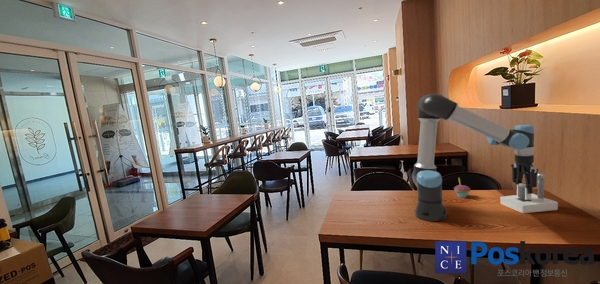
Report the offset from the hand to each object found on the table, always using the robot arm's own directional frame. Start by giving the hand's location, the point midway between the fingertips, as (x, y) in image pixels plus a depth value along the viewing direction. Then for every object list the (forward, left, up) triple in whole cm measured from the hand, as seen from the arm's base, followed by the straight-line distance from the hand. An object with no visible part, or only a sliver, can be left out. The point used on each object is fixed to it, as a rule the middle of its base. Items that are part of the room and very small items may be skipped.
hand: (523, 197), depth 135 cm
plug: (0, 0, -5) cm, 5 cm away
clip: (+8, +6, +8) cm, 12 cm away
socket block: (+2, 0, -5) cm, 6 cm away
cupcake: (-18, +23, -5) cm, 30 cm away
